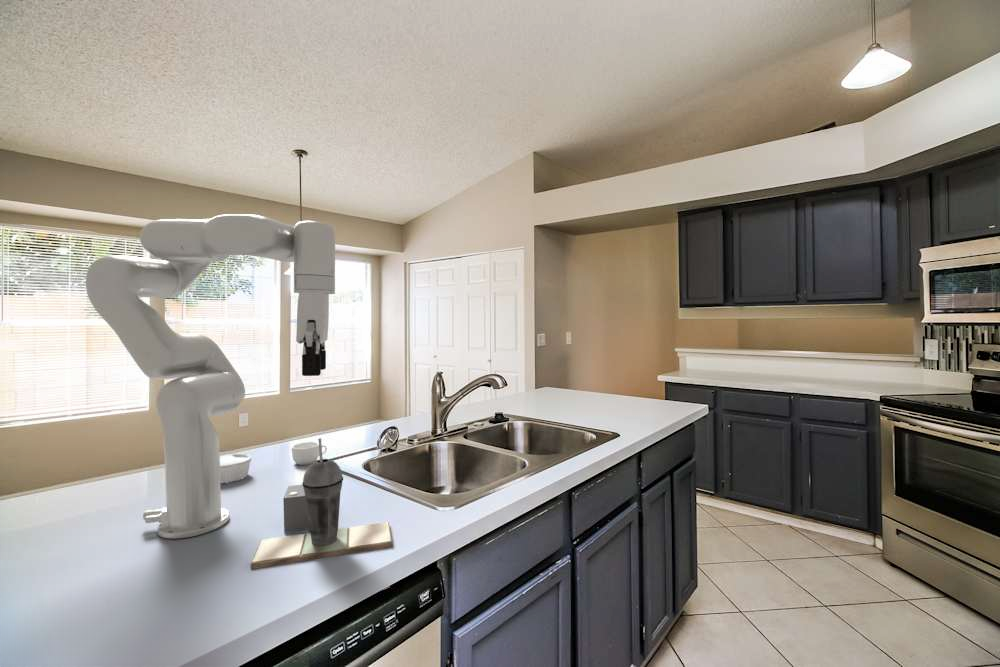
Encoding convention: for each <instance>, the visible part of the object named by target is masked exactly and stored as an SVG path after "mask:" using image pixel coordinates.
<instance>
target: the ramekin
mask: <svg viewBox="0 0 1000 667" xmlns="http://www.w3.org/2000/svg"><path fill="white" fill-rule="evenodd" d="M251 462H252V457H251V455H248V454H244V453H232V454H224V455H220V483H226V484H228V483H227V482H232V481H236V480H239V479H242V478H243V479H245V478H246V477H247V476H248V475H249V471H250V466H251V465H250V464H251ZM244 477H245V478H244ZM243 479H242V480H243ZM239 481H240V480H239ZM236 482H237V481H236ZM232 483H233V482H232Z"/></svg>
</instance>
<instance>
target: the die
mask: <svg viewBox="0 0 1000 667" xmlns="http://www.w3.org/2000/svg"><path fill="white" fill-rule="evenodd" d="M302 530H310V528H309V519H308V511H307V502H306V496H305V492H304V488H303V485H302V484H296V485H288V486H287V488H286V491H285V494H284V496H283V531H284V532H283V533H289V532H294V531H296V532H297V531H302Z"/></svg>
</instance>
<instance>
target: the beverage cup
mask: <svg viewBox="0 0 1000 667" xmlns="http://www.w3.org/2000/svg"><path fill="white" fill-rule="evenodd" d="M318 443H319V455H320V456H319V459H317V460H316V461H315V462H313V463H312V464H309V465H308V467H307V469H306V470H305V472H304V474H303V478H302V480H303V481H302V483H301V485H303V488H304V492H305V496H306V502H307V511H308V519H309V528H310V529H309V533H310V535H311V540H312V544H313V545H314V546H326V545H329V544H332V543H334V542H335V541H336V539H337V531H338V529H339V522H340V520H339V517H340V506H341V505H340V503H341V491H342V487H343V481H344V477H343V472H342V469H341V467H340V466H339V465H338V463H337V462H335V461H333V460H332V459H328V458H323V454H322V452H323V447H322V438H320V437H319V438H318Z"/></svg>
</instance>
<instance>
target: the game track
mask: <svg viewBox="0 0 1000 667" xmlns="http://www.w3.org/2000/svg"><path fill="white" fill-rule="evenodd" d="M391 546H392V547H393V540H392V534H391V527H390V522H389V521H385V522H379V523H371V524H365V525H356V526H350V527H343V528H338V531H337V539H336V541H335V542H334V543H332V544H329V545H326V546H314V545H313V544H312V540H311V535H310V532H308V533H307V532H306V533H300V534H294V535H285V536H280V537H272V538H264V539H261V540H260V542H259V544H258V546H257V548H256V551H255V553H254V555H253V557H252V560H251V562H250V570H252V569H258V568H259V569H260V568H265V567H270V566H276V565H277V566H278V565H283V564H291V563H296V562H303V561H309V560H315V559H316V560H317V559H322V558H323V559H324V558H328V557H334V556H342V555H347V554H355V553H360V552H361V553H362V552H367V551H373V550H378V549H379V550H380V549H385V548H384V547H387V548H391Z"/></svg>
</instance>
